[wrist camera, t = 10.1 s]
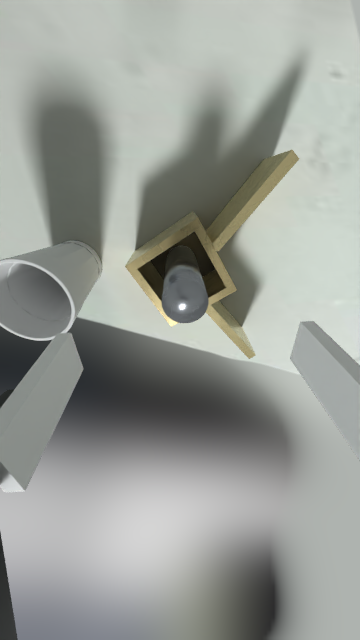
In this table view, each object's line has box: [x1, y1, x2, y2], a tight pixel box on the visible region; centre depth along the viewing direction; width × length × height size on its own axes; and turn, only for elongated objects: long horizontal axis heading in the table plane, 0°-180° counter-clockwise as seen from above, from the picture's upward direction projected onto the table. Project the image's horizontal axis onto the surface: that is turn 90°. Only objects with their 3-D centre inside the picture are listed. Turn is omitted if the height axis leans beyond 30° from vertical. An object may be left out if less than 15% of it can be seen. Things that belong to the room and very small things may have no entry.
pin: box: [162, 246, 209, 323], centre depth 25 cm, size 4×4×13 cm
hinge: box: [125, 150, 299, 359], centre depth 28 cm, size 19×18×7 cm
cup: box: [0, 240, 102, 340], centre depth 25 cm, size 8×8×12 cm
